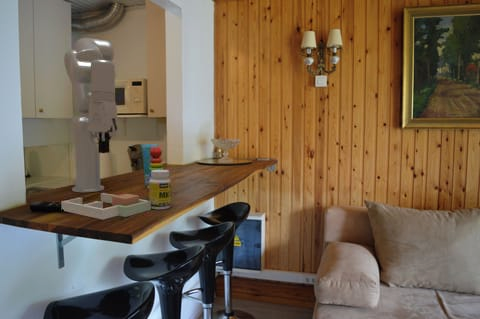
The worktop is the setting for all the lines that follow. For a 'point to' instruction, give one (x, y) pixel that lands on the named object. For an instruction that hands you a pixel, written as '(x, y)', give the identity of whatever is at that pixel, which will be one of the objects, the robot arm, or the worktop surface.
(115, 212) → the box
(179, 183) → the worktop surface
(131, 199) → the block
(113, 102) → the robot arm
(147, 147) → the tube
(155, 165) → the stacking toy
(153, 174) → the supplement bottle
